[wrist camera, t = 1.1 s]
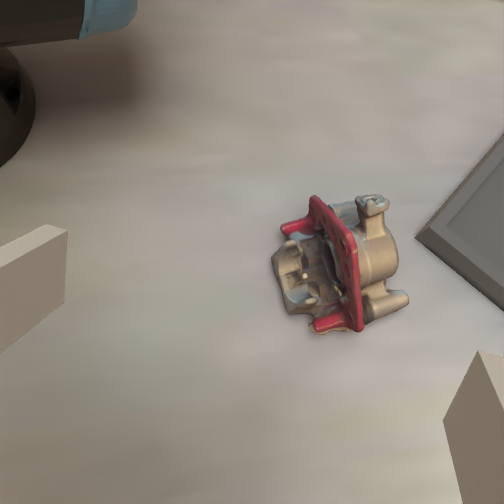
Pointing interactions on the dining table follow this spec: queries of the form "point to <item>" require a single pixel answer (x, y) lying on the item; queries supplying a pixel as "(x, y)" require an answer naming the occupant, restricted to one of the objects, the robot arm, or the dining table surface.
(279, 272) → the brake caliper
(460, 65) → the dining table surface
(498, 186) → the parts tray
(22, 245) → the robot arm
